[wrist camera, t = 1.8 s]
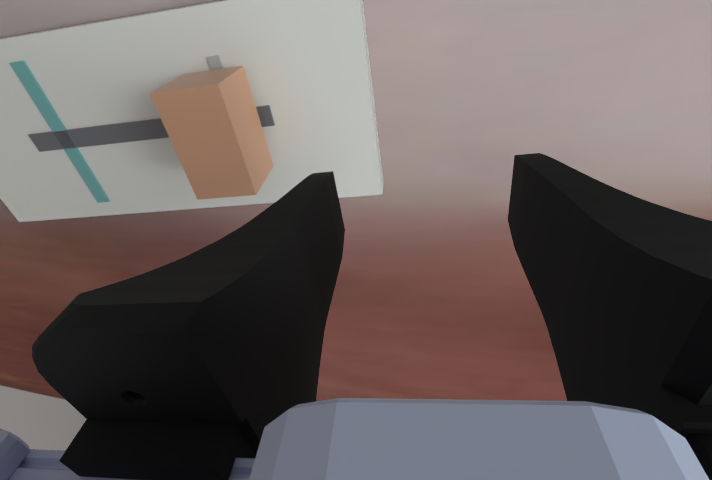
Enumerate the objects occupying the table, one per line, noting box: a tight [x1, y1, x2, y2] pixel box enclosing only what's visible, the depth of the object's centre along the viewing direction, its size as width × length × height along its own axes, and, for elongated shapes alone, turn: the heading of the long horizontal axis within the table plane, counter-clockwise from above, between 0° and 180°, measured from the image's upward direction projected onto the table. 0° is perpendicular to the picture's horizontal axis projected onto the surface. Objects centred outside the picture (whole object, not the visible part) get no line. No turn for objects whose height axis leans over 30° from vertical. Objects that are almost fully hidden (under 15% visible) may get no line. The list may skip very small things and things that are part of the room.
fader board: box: [0, 0, 383, 222], centre depth 21 cm, size 24×10×2 cm, turn 98°
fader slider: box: [149, 66, 273, 200], centre depth 18 cm, size 3×5×3 cm, turn 8°
